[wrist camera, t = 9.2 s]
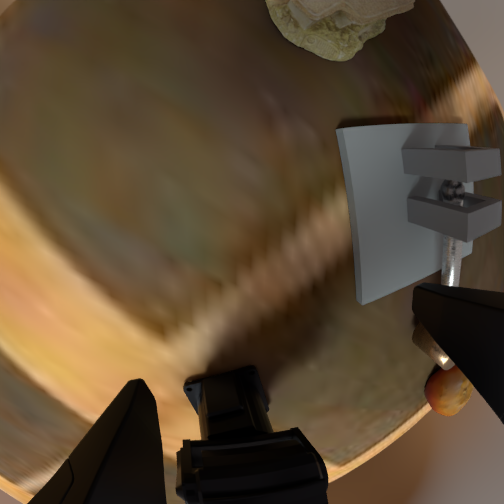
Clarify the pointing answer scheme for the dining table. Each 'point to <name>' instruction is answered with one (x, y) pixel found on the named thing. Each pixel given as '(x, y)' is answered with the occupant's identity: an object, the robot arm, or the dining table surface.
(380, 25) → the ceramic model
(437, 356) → the metal knob rod
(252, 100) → the dining table surface
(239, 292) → the dining table surface
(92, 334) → the dining table surface
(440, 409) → the fruit
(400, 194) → the barrel bolt latch
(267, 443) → the robot arm
